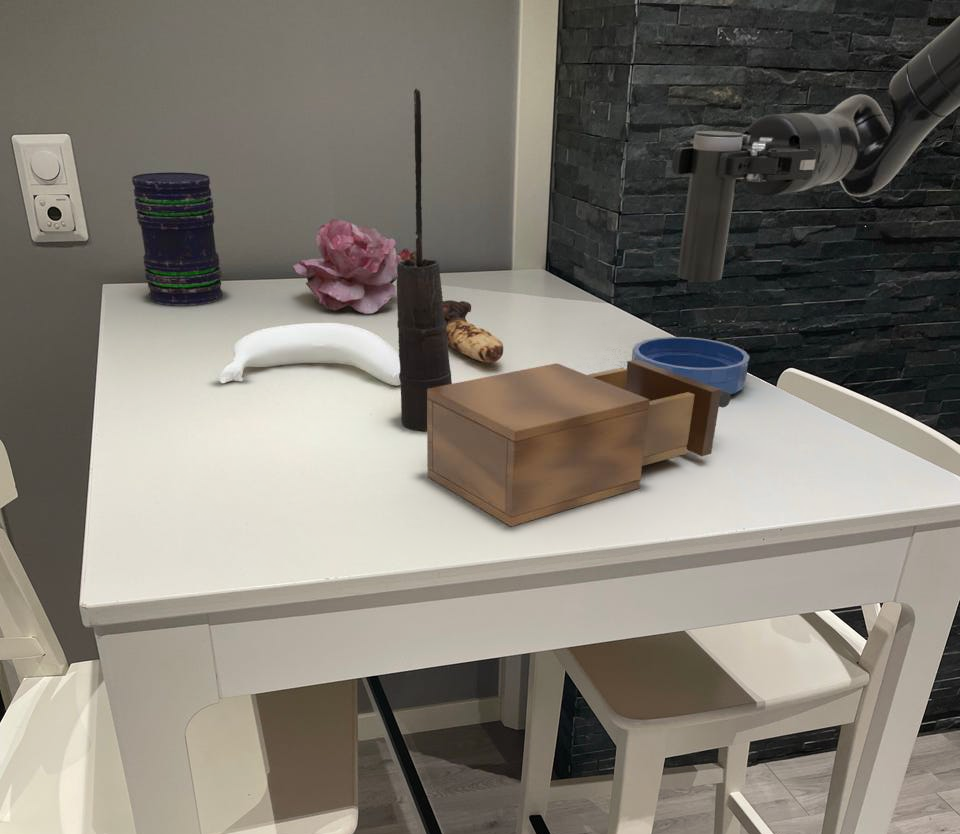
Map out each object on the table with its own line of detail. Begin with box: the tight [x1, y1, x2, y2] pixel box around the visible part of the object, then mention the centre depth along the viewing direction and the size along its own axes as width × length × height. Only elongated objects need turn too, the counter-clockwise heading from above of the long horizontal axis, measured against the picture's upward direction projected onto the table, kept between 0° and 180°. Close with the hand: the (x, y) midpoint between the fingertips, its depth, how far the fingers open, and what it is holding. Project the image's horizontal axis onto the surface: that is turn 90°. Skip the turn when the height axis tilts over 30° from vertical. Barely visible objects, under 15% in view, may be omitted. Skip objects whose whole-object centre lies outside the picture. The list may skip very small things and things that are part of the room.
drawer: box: [587, 359, 732, 467], centre depth 85 cm, size 17×10×6 cm, turn 126°
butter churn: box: [396, 88, 453, 432], centre depth 87 cm, size 9×10×28 cm
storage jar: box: [131, 171, 223, 307], centre depth 129 cm, size 10×10×15 cm
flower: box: [292, 218, 411, 315], centre depth 130 cm, size 15×15×10 cm
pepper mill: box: [677, 130, 744, 283], centre depth 95 cm, size 4×4×13 cm
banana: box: [218, 322, 401, 386], centre depth 103 cm, size 5×19×15 cm
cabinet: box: [426, 362, 650, 527], centre depth 79 cm, size 14×12×8 cm
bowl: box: [631, 336, 751, 395], centre depth 104 cm, size 12×12×4 cm
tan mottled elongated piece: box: [443, 299, 504, 363], centre depth 112 cm, size 9×5×18 cm
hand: (699, 164), depth 91 cm, fingers closed on pepper mill, 4 cm apart
